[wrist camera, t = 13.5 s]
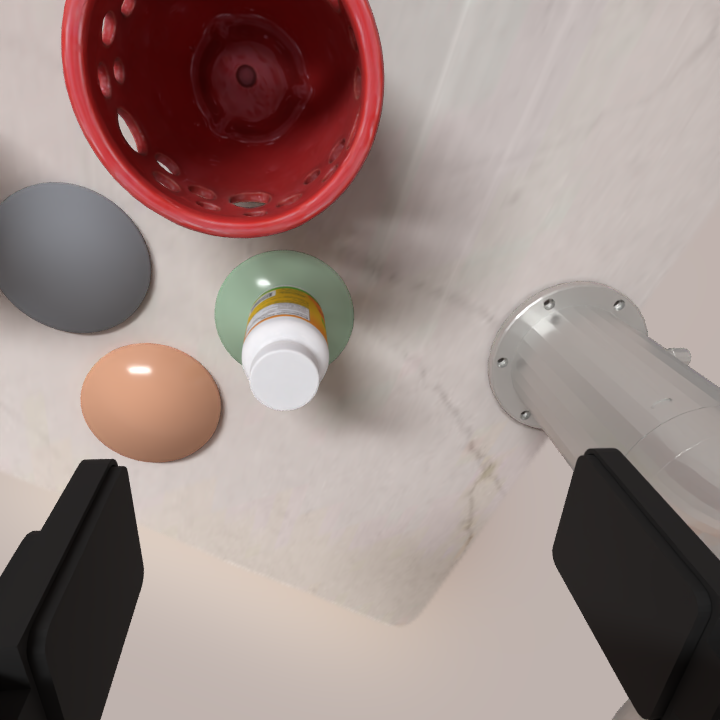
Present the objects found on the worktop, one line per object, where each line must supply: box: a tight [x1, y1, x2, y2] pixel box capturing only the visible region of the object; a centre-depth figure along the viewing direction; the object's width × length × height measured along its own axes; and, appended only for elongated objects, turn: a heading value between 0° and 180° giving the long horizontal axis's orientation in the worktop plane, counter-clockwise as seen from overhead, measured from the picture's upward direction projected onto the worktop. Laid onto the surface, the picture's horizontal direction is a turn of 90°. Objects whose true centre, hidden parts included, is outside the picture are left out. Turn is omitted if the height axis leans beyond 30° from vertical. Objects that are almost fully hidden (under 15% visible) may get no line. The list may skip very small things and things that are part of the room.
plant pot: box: [61, 0, 384, 238], centre depth 27 cm, size 13×13×12 cm
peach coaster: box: [81, 343, 221, 462], centre depth 41 cm, size 10×10×1 cm
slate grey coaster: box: [0, 182, 151, 333], centre depth 36 cm, size 10×10×1 cm
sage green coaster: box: [215, 250, 354, 365], centre depth 40 cm, size 10×10×1 cm
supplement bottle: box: [242, 285, 329, 411], centre depth 35 cm, size 5×5×10 cm
